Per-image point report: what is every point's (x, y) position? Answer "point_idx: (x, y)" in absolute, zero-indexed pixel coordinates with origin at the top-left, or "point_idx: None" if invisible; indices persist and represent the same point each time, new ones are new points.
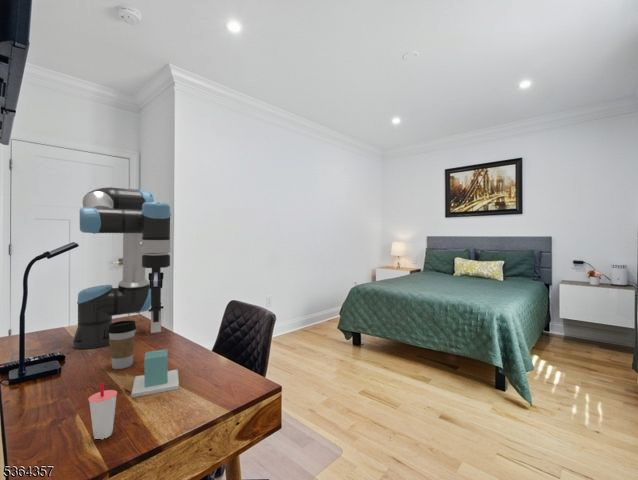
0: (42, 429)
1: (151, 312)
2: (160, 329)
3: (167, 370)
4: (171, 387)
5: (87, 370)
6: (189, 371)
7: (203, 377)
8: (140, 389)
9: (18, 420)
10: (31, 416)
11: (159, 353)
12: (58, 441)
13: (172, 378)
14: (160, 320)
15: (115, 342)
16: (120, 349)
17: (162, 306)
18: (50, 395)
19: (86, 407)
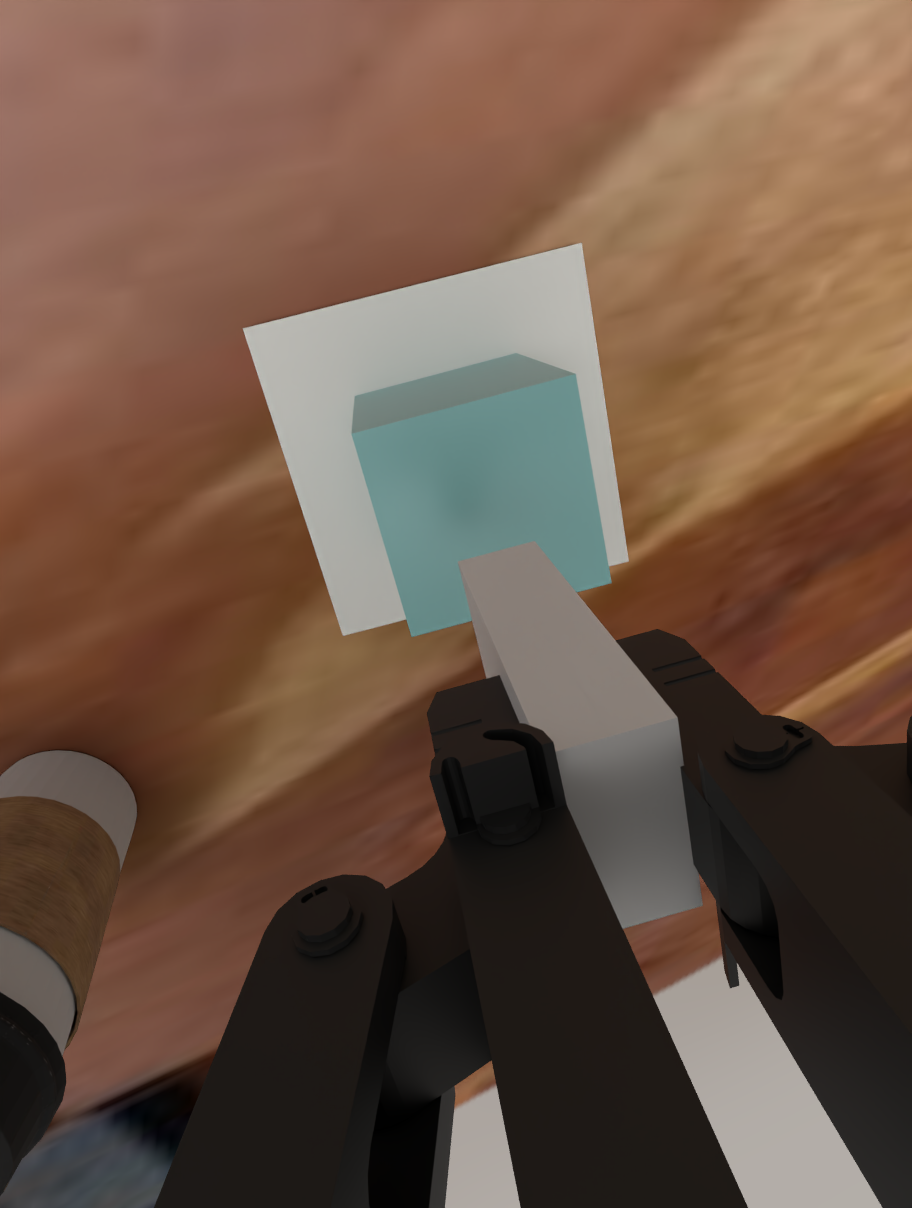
0: None
1: (692, 875)
2: (543, 559)
3: (538, 361)
4: (587, 302)
5: (146, 966)
6: (232, 213)
7: (393, 33)
8: None
9: (690, 947)
10: (671, 922)
11: (484, 482)
12: None
13: (433, 332)
14: (590, 619)
15: (86, 990)
16: (95, 902)
17: (473, 785)
18: None
19: None
